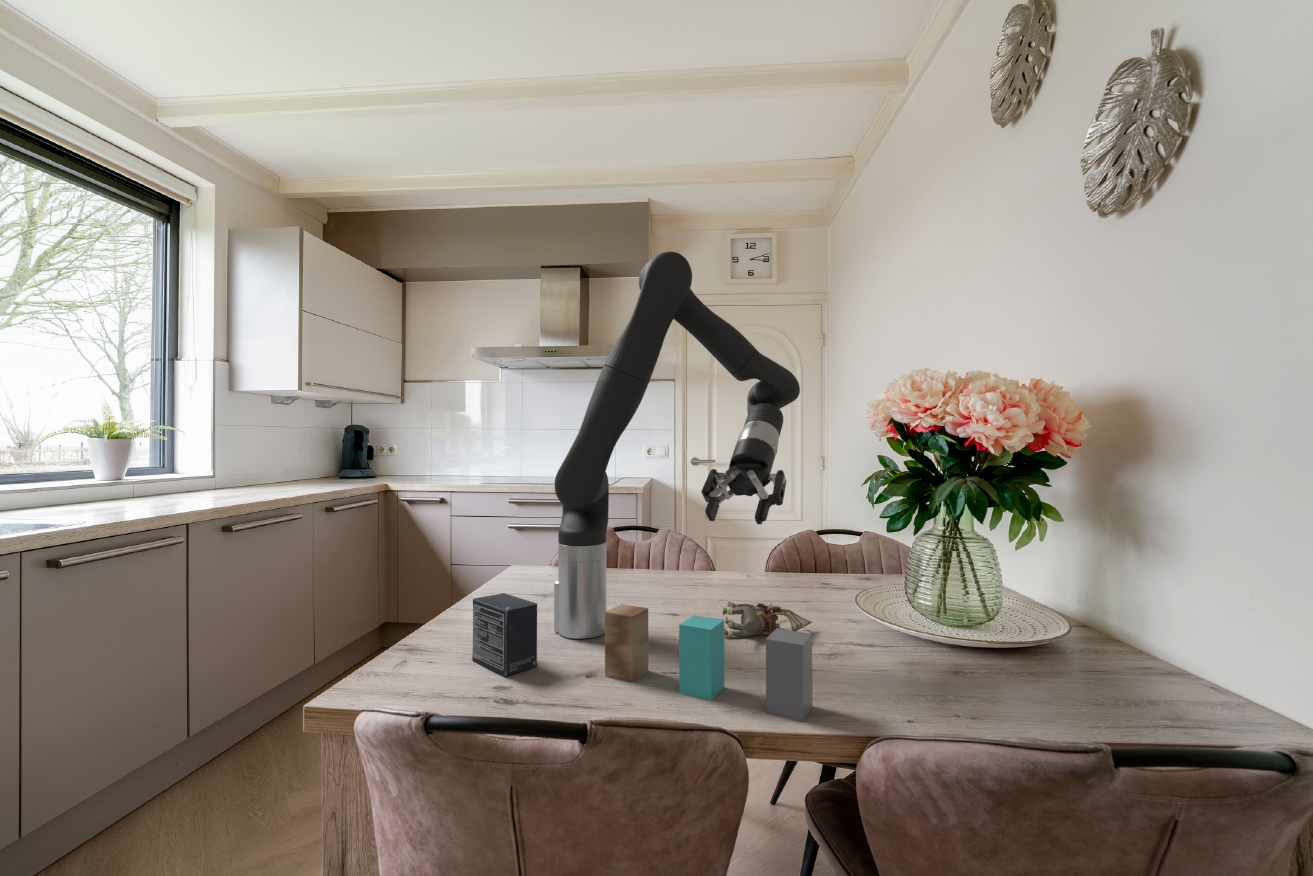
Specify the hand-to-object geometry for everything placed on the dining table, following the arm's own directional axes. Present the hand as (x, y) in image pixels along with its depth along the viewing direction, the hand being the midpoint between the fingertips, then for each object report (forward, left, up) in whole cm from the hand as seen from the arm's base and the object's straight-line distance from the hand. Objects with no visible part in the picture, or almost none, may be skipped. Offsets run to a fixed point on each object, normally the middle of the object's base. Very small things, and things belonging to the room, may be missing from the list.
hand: (733, 519), depth 96 cm
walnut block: (-13, -13, -23) cm, 30 cm away
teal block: (0, -13, -23) cm, 27 cm away
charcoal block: (+13, -13, -23) cm, 30 cm away
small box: (-33, -19, -24) cm, 45 cm away
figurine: (+1, +16, -24) cm, 29 cm away
